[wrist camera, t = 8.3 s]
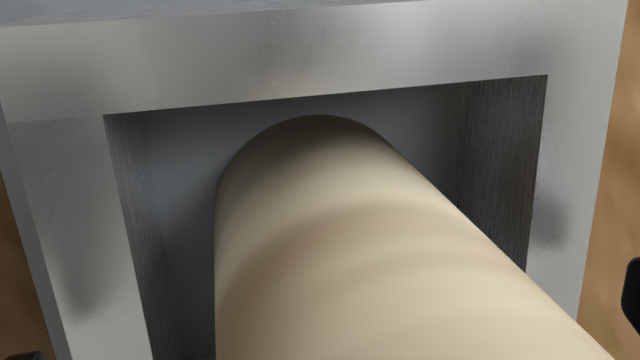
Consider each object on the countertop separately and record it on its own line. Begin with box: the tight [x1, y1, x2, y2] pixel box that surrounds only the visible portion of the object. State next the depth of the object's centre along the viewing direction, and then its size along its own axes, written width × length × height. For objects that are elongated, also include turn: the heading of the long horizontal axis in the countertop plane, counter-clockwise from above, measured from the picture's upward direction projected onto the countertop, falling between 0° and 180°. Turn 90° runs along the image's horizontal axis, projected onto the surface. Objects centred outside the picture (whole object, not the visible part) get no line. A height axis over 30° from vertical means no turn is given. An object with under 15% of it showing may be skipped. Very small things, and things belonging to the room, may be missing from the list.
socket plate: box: [0, 0, 461, 360], centre depth 12 cm, size 14×12×1 cm
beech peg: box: [213, 114, 615, 360], centre depth 7 cm, size 4×4×9 cm
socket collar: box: [0, 0, 628, 360], centre depth 10 cm, size 9×9×3 cm
